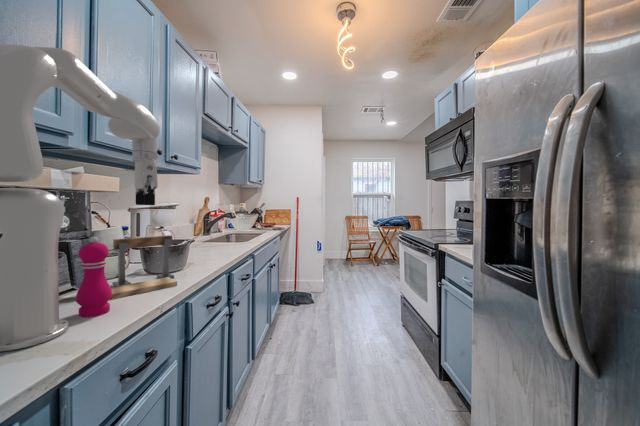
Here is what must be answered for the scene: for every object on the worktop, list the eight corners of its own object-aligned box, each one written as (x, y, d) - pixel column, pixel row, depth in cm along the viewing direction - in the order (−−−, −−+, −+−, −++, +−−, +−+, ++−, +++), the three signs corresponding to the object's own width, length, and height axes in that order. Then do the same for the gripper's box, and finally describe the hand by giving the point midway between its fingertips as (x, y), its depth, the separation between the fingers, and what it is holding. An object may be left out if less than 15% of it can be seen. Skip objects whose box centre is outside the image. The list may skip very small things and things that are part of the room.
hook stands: (117, 288, 90) (116, 243, 90) (112, 285, 94) (112, 241, 93) (174, 278, 104) (174, 238, 103) (168, 275, 108) (168, 237, 107)
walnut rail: (115, 249, 91) (115, 240, 91) (113, 248, 92) (113, 239, 92) (172, 244, 104) (172, 235, 104) (169, 243, 106) (169, 235, 106)
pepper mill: (119, 308, 74) (118, 235, 73) (94, 319, 66) (93, 238, 66) (95, 306, 74) (94, 234, 74) (68, 317, 67) (66, 238, 67)
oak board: (97, 302, 78) (97, 297, 78) (91, 295, 83) (91, 290, 83) (177, 285, 94) (177, 281, 94) (168, 281, 100) (168, 277, 100)
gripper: (165, 156, 95) (165, 205, 95) (148, 161, 106) (148, 204, 107) (140, 153, 89) (140, 205, 90) (125, 158, 100) (126, 204, 101)
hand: (145, 205), depth 98 cm, fingers open, 9 cm apart
